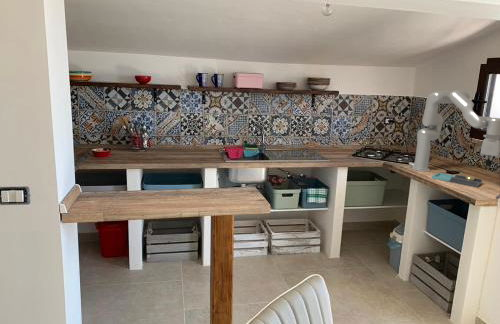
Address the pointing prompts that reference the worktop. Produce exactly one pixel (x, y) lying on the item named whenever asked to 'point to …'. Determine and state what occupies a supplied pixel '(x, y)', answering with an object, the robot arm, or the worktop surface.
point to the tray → (442, 177)
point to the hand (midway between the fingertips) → (488, 165)
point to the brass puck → (470, 178)
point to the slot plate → (466, 181)
